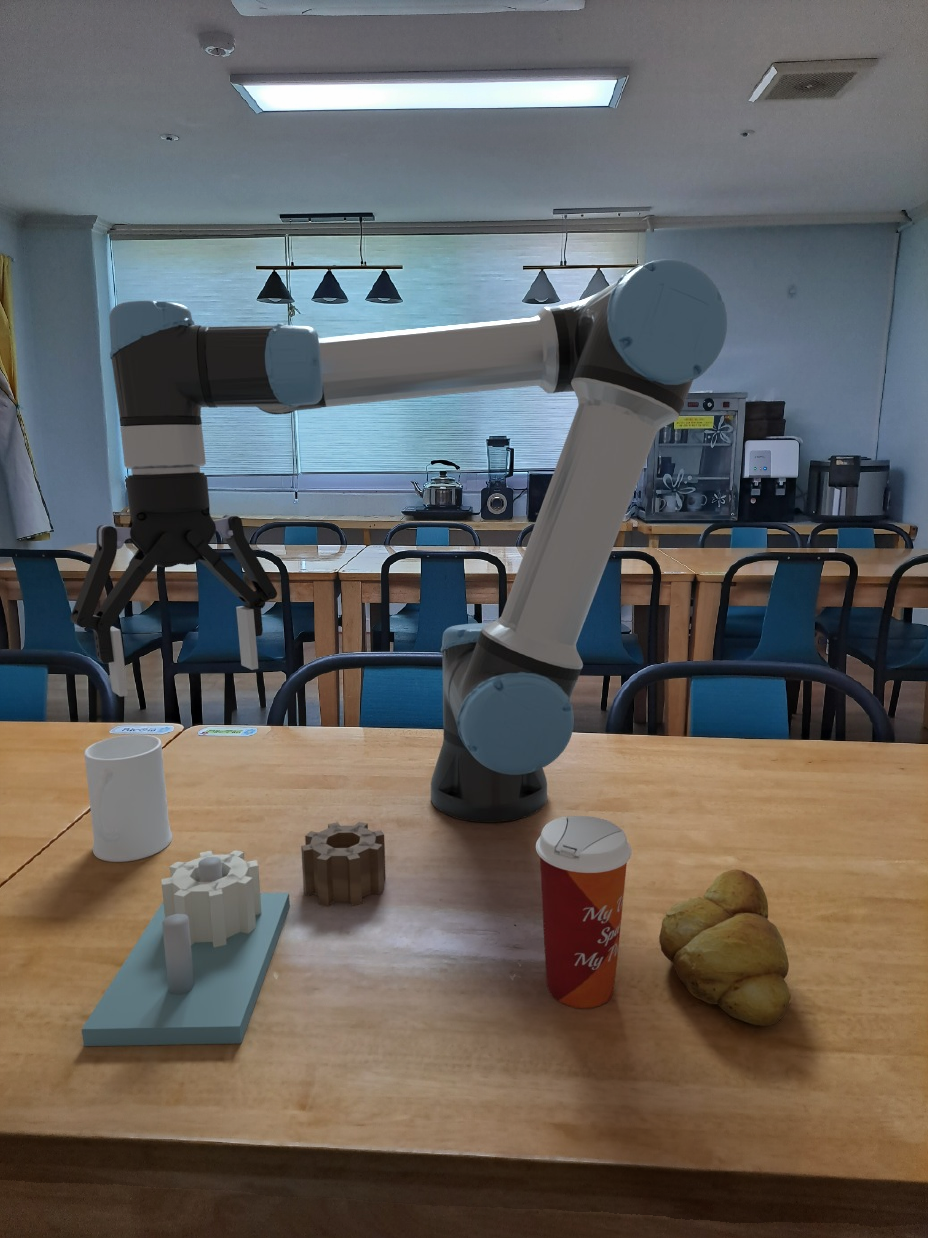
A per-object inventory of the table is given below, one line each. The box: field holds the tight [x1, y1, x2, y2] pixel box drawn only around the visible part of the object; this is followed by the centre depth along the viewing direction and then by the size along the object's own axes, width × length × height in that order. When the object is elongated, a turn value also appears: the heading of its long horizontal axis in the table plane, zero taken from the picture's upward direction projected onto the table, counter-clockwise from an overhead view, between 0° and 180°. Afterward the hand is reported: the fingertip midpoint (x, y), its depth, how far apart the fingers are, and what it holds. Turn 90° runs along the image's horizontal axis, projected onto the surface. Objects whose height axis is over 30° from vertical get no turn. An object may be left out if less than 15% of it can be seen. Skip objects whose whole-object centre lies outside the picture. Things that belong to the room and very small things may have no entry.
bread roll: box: [658, 869, 792, 1027], centre depth 67 cm, size 13×10×8 cm
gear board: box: [81, 857, 291, 1047], centre depth 70 cm, size 12×19×8 cm, turn 1°
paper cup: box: [535, 815, 632, 1010], centre depth 67 cm, size 8×8×14 cm
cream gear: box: [160, 849, 262, 947], centre depth 75 cm, size 8×8×5 cm
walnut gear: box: [300, 821, 387, 907], centre depth 84 cm, size 8×8×5 cm
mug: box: [83, 734, 173, 863], centre depth 91 cm, size 12×8×12 cm
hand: (188, 679), depth 84 cm, fingers open, 13 cm apart
